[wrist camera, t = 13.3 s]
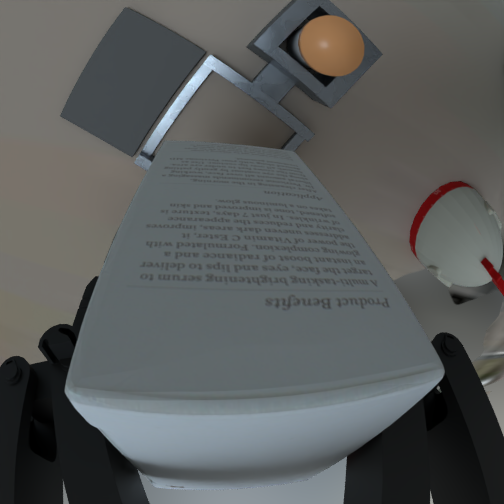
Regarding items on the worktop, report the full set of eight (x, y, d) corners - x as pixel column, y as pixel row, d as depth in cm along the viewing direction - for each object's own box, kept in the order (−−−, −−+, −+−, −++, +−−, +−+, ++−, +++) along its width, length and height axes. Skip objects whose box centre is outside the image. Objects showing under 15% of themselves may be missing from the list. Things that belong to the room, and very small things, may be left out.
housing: (369, 66, 23) (396, 71, 19) (188, 272, 36) (186, 302, 32) (278, -16, 18) (292, -30, 14) (100, 226, 30) (87, 253, 26)
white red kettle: (433, 271, 43) (480, 339, 31) (393, 237, 37) (452, 319, 25) (485, 212, 36) (543, 270, 25) (455, 162, 31) (535, 224, 19)
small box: (265, 288, 16) (309, 481, 8) (163, 285, 15) (152, 490, 7) (298, 147, 12) (460, 374, 3) (162, 135, 11) (54, 403, 2)
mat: (206, 52, 21) (205, 52, 21) (133, 155, 26) (132, 157, 26) (126, 7, 17) (125, 6, 17) (62, 114, 22) (60, 116, 21)
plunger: (344, 48, 21) (376, 48, 16) (311, 82, 23) (336, 89, 18) (305, 13, 19) (330, 3, 14) (270, 48, 21) (287, 45, 16)
